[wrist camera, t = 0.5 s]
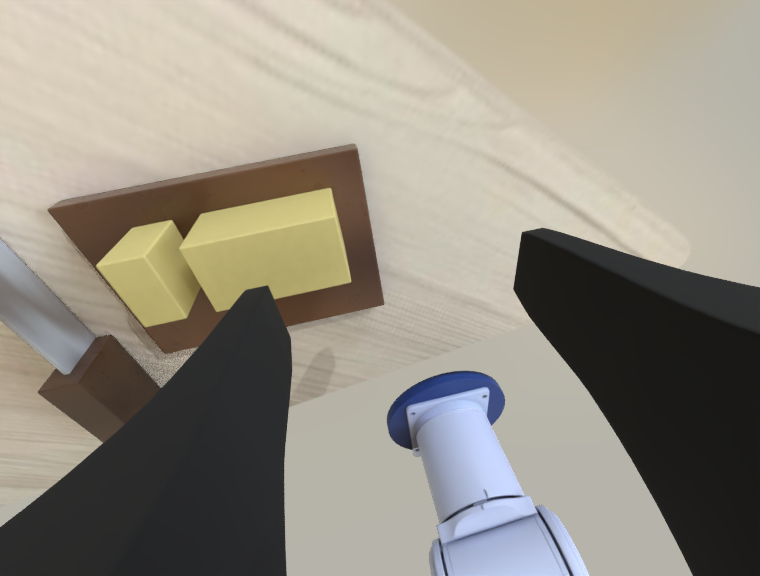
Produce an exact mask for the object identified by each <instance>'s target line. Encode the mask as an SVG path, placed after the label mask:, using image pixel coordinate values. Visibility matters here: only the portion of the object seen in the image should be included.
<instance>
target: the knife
mask: <svg viewBox="0 0 760 576" xmlns="http://www.w3.org/2000/svg"><path fill="white" fill-rule="evenodd" d="M0 321H1V322H3V323H4V324H5V325H6V326H7V327H8V328H10V329H11V330H12V331H13V332H14V333H16V334H17V335H18V336H19V337H20V338H21V339H23V340H24V341H25V342H26V343H27V344H28V345H30V346H31V347H32V348H33V349H34V350H35V351H37V352H38V353H39V354H40V355H41V356H42V357H44V358H45V359H46V360H47V361H48V362H49V363H51V364H52V365H53V366H54V367H55V368H56V369H55V370H54V371H53V373H52V374H51V375H50V377H49V378H48V379H47V380H46V382H45V383H44V384H43V386H42V387H41V388H40V389H39V391H38V394H40V395H41V396H42V397H44V398H45V399H46V400H48V401H49V402H50V403H52V404H53V405H54V406H56V407H57V408H58V409H60V410H61V411H62V412H64V413H65V414H66V415H67V416H69V417H70V418H71V419H73V420H74V421H75V422H77V423H78V424H79V425H81V426H82V427H83V428H85V429H86V430H87V431H89V432H90V433H91V434H93V435H94V436H95V437H97V438H98V439H99V440H101V441H102V442H103V443H104V442H105V441H106V440H108V439H109V438H110V437H111V436H112V435H113V434H114V433H116V432H117V431H118V430H119V429H120V428H121V427H122V426H123V425H124V424H126V423H127V422H128V421H129V420H130V419H131V418H132V417H133V416H134V415H135V414H136V413H137V412H138V411H139V410H140V409H141V408H142V407H143V406H144V405H145V404H146V403H147V402H149V401H150V400H151V399H152V398H153V397H154V396H155V394H156V393H157V392H158V391H159V390H160V389H161V388H160V387H159V386H158V385H157V384H156V383H155V382H154V381H153V380H152V378H151V377H150V376H149V375H148V374H147V373H146V372H145V371H144V370H143V369H142V368H141V366H140V365H139V364H138V363H137V362H136V361H135V360H134V359H133V358H132V357H131V356H130V354H129V353H128V352H127V351H126V350H125V349H124V348H123V347H122V346H121V345H120V344H119V342H118V341H117V340H116V339H115V338H114V337H113V336H112V335H108V336H104V337H99V338H96V337H95V336H94V335H93V334H92V333H91V332H90V331H89V330H88V329H87V328H86V327H85V326H84V325H83V324H82V323H81V322H80V321H79V319H78V318H77V317H76V316H75V315H74V314H73V313H72V312H71V311H70V310H69V309H68V308H67V307H66V306H65V305H64V304H63V303H62V302H61V301H60V300H59V299H58V298H57V297H56V296H55V295H54V294H53V293H52V292H51V290H50V289H49V288H48V287H47V286H46V285H45V284H44V283H43V282H42V281H41V280H40V279H39V278H38V277H37V276H36V275H35V274H34V273H33V272H32V271H31V270H30V269H29V268H28V267H27V266H26V265H25V264H24V263H23V262H22V260H21V259H20V258H19V257H18V256H17V255H16V254H15V253H14V252H13V251H12V250H11V249H10V248H9V247H8V246H7V245H6V244H5V243H4V242H3V241H2V240H1V239H0Z"/></svg>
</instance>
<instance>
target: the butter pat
mask: <svg viewBox="0 0 760 576" xmlns="http://www.w3.org/2000/svg"><path fill="white" fill-rule="evenodd" d="M183 241H184V239H183V238H182V236H181V234H180V232H179V231H178V229H177V227H176V226H175V224H174V222H173V221H172V220H168V221H163V222H158V223H153V224H149V225H144V226H139V227H134V228H132V229H131V230H130V231H129V232H128V233H127V234H126V235H125V236H124V237H123V238H122V239H121V240H120V241H119V242H118V243H117V244H116V245H115V246H114V247H113V248H112V249H111V250H110V251H109V252H108V253H107V254H106V255H105V257H104V258H103V259H102V260H101V261H100V262H99V263H98V264H97V265H96V268H97V269H98V270H99V271H100V273H101V274H102V275H103V276H104V278H105V279H106V280H107V281H108V282H109V284H110V285H111V286H112V287H113V289H114V290H115V291H116V292H117V294H118V295H119V296H120V297H121V299H122V300H123V301H124V302H125V303H126V305H127V306H128V307H129V308H130V310H131V311H132V312H133V313H134V315H135V316H136V317H137V318H138V319H139V321H140V322H141V323H142V324H143V326H144V327H150V326H154V325H159V324H164V323H168V322H173V321H177V320H182V319H186V318H187V317H188V315H189V312H190V310H191V308H192V306H193V303H194V301H195V299H196V297H197V294H198V292H199V290H200V288H201V285H200V284H199V282H198V280H197V279H196V277H195V275H194V274H193V272H192V270H191V269H190V267H189V265H188V264H187V262H186V260H185V259H184V257H183V255H182V254H181V252H180V250H179V247H180V246H181V244H182V243H183Z"/></svg>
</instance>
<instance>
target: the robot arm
mask: <svg viewBox="0 0 760 576" xmlns="http://www.w3.org/2000/svg"><path fill="white" fill-rule="evenodd" d="M513 289H514V291H515V293H516V295H517V297H518V298H519V300H520V302H521V304H522V305H523V307H524V309H525V310H526V312H527V313H528V315H529V317H530V318H531V319H532V321H533V322H534V323H535V324H536V326H537V327H538V328H539V329H540V331H541V332H542V333H543V334H544V336H545V337H546V338H547V340H548V341H549V342H550V343H551V344H552V346H553V347H554V348H555V349H556V351H557V352H558V353H559V354H560V355H561V357H562V358H563V359H564V360H565V361H566V363H567V364H568V365H569V367H570V368H571V369H572V370H573V372H574V373H575V374H576V375H577V376H578V378H579V379H580V380H581V382H582V383H583V385H584V386H585V387H586V389H587V390H588V391H589V393H590V394H591V396H592V397H593V399H594V400H595V402H596V403H597V405H598V406H599V408H600V410H601V411H602V413H603V414H604V416H605V417H606V419H607V420H608V422H609V423H610V425H611V427H612V428H613V430H614V432H615V433H616V435H617V436H618V438H619V439H620V441H621V443H622V445H623V446H624V448H625V450H626V451H627V453H628V454H629V456H630V458H631V459H632V461H633V463H634V464H635V466H636V468H637V470H638V472H639V473H640V475H641V477H642V479H643V481H644V482H645V484H646V486H647V488H648V489H649V491H650V493H651V494H652V496H653V498H654V500H655V502H656V503H657V506H658V507H659V509H660V511H661V513H662V515H663V517H664V519H665V521H666V523H667V525H668V527H669V529H670V531H671V532H672V534H673V536H674V538H675V540H676V542H677V544H678V546H679V548H680V550H681V552H682V554H683V556H684V558H685V560H686V562H687V564H688V566H689V568H690V570H691V573H692V575H693V576H760V288H759V287H755V286H750V285H745V284H740V283H736V282H731V281H727V280H722V279H718V278H713V277H709V276H704V275H701V274H697V273H693V272H689V271H684V270H681V269H677V268H674V267H670V266H667V265H663V264H660V263H656V262H653V261H649V260H646V259H643V258H639V257H636V256H633V255H630V254H626V253H623V252H620V251H617V250H614V249H611V248H608V247H605V246H602V245H599V244H596V243H592V242H589V241H586V240H583V239H580V238H577V237H574V236H571V235H568V234H564V233H561V232H557V231H554V230H550V229H545V228H540V229H535V230H530V231H525V232H522V235H521V242H520V248H519V255H518V262H517V268H516V275H515V282H514V288H513ZM291 377H292V354H291V338H290V335H289V333H288V331H287V328H286V326H285V324H284V321H283V319H282V317H281V314H280V312H279V310H278V307H277V305H276V303H275V300H274V298H273V295H272V293H271V291H270V288H269V286H268V285H266V286H262V287H257V288H252V289H247V290H245V291H244V292H243V293H242V294H241V296H240V297H239V298H238V299H237V300H236V302H235V303H234V304H233V305H232V307H231V308H230V309H229V310H228V312H227V313H226V314H225V316H224V317H223V318H222V319H221V321H220V322H219V323H218V324H217V326H216V327H215V328H214V329H213V330H212V332H211V333H210V334H209V335H208V337H207V338H206V339H205V340H204V342H203V343H202V344H201V345H200V346H199V347H198V349H197V350H196V351H195V352H194V353H193V354H192V355H191V356H190V358H189V359H188V360H187V361H186V362H185V363H184V364H183V365H182V367H181V368H180V369H179V370H178V371H177V372H176V373H175V374H174V376H173V377H172V378H171V379H170V380H169V381H168V382H167V383H166V384H165V385H164V386H163V387H162V388H161V389H160V390H159V391H158V392H157V393H156V394H155V396H154V397H153V398H152V399H151V400H150V401H149V402H147V403H146V404H145V405H144V406H143V407H142V408H141V409H140V410H139V411H138V412H137V413H136V414H135V415H134V416H133V417H132V418H131V419H130V420H129V421H128V422H127V423H126V424H124V425H123V426H122V427H121V428H120V429H119V430H118V431H117V432H116V433H114V434H113V435H112V436H111V437H110V438H109V439H108V440H106V441H105V442H104V443H103V444H102V445H101V446H99V447H98V448H97V449H96V450H95V451H94V452H92V453H91V454H90V455H89V456H88V457H87V458H86V459H84V460H83V461H82V462H81V463H80V464H79V465H77V466H76V467H75V468H74V469H73V470H72V471H71V472H69V473H68V474H67V475H66V476H65V477H63V478H62V479H61V480H60V481H58V482H57V483H56V484H55V485H54V486H52V487H51V488H50V489H49V490H47V491H46V492H45V493H44V494H43V495H41V496H40V497H39V498H37V499H36V500H35V501H33V502H32V503H31V504H30V505H28V506H27V507H26V508H25V509H23V510H22V511H21V512H19V513H18V514H17V515H16V516H14V517H13V518H12V519H10V520H9V521H8V522H6V523H5V524H4V525H3V526H1V527H0V576H287V575H286V552H285V515H284V514H285V513H284V457H285V442H286V431H287V421H288V410H289V400H290V388H291ZM488 401H489V389H488V388H487V387H482V388H478V389H474V390H470V391H465V392H461V393H457V394H453V395H449V396H445V397H441V398H437V399H433V400H428V401H424V402H420V403H416V404H412V405H409V406H407V408H406V412H407V418H408V424H409V431H410V437H411V443H412V449H413V454H414V456H415V457H419V456H421V458H422V461H423V465H424V468H425V472H426V476H427V479H428V483H429V487H430V490H431V493H432V497H433V501H434V505H435V508H436V512H437V516H438V519H439V523H440V524H439V525H437V530H438V534H439V537H440V538H438V539H435V540H433V542H432V547H431V549H430V552H429V562H430V569H431V574H432V576H590V575H589V573H588V571H587V569H586V567H585V565H584V562H583V561H582V558H581V556H580V554H579V552H578V550H577V549H576V547H575V545H574V543H573V541H572V539H571V537H570V536H569V534H568V532H567V531H566V529H565V527H564V526H563V524H562V523H561V522H560V520H559V518H558V517H557V516H556V514H555V513H554V512H552V511H550V510H549V509H547V508H546V507H545V506H543V505H538V506H536V507H535V506H534V504H533V502H532V500H531V498H530V496H529V495H526V496H525V495H524V493H523V491H522V489H521V487H520V485H519V483H518V481H517V479H516V476H515V474H514V472H513V470H512V468H511V466H510V464H509V462H508V460H507V458H506V456H505V454H504V452H503V450H502V447H501V445H500V443H499V442H498V439H497V437H496V435H495V433H494V431H493V429H492V427H491V425H490V423H489V421H488V419H487V410H488Z"/></svg>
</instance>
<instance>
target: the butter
mask: <svg viewBox="0 0 760 576" xmlns="http://www.w3.org/2000/svg"><path fill="white" fill-rule="evenodd" d="M179 250H180V252H181V254H182V255H183V257H184V259H185V260H186V262H187V264H188V265H189V267H190V269H191V270H192V272H193V274H194V275H195V277H196V279H197V280H198V282H199V284H200V285H201V287H202V289H203V290H204V292H205V294H206V295H207V297H208V299H209V300H210V302H211V304H212V305H213V307H214V309H215V310H216V312H219V311H224V310H228V309H230V308H231V307H232V305H233V304H234V303H235V302H236V300H237V299H238V298H239V297H240V296H241V294H242V293H243V292H244V291H245V290H247V289H252V288H257V287H262V286H266V285H268V286H269V288H270V291H271V293H272V295H273V298H274V299H278V298H283V297H287V296H292V295H297V294H301V293H306V292H310V291H315V290H319V289H324V288H328V287H333V286H338V285H342V284H347V283H350V282H351V276H350V271H349V266H348V260H347V255H346V250H345V245H344V241H343V236H342V232H341V228H340V224H339V219H338V215H337V211H336V207H335V202H334V198H333V194H332V190H331V188H326V189H321V190H316V191H311V192H306V193H301V194H296V195H291V196H286V197H281V198H277V199H272V200H267V201H262V202H257V203H252V204H247V205H242V206H237V207H232V208H227V209H222V210H217V211H212V212H207V213H202V214H200V216H199V217H198V219H197V221H196V222H195V224H194V225H193V227H192V228H191V230H190V232H189V233H188V235H187V236H186V238H185V239H184V241H183V243H182V244H181V246H180V247H179Z"/></svg>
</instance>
